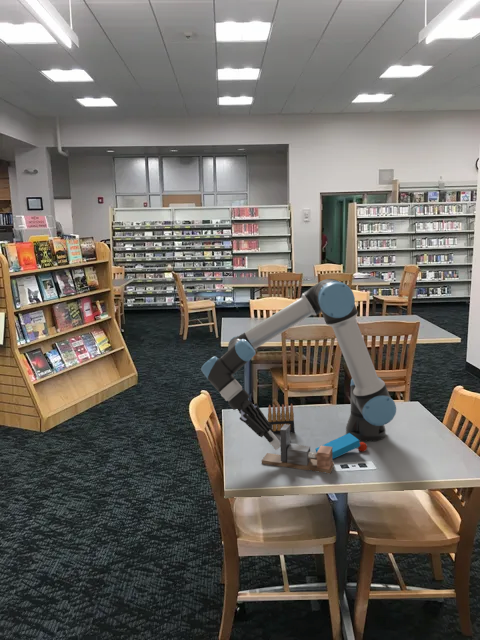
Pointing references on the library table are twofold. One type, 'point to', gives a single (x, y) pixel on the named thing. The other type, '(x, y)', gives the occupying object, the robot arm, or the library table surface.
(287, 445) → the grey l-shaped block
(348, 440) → the blue block
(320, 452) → the wooden bar with block
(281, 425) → the ammunition clip
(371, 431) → the robot arm
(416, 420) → the library table surface
